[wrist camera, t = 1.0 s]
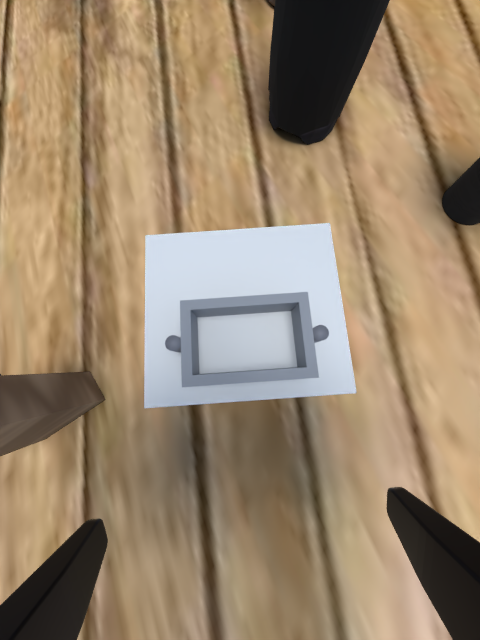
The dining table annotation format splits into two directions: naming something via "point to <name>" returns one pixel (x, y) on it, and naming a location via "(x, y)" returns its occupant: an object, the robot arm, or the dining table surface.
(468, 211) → the drinking cup
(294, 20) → the portable speaker
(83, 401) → the wooden rectangular pillar
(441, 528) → the robot arm
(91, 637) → the dining table surface
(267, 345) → the white base with frame
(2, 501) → the dining table surface
